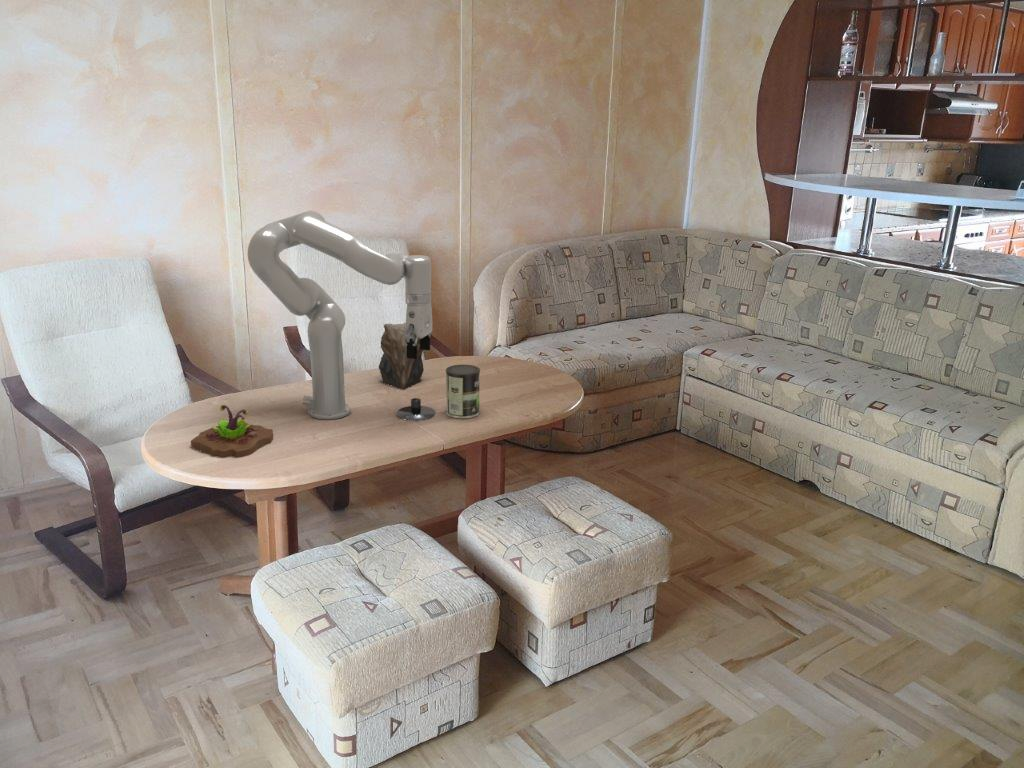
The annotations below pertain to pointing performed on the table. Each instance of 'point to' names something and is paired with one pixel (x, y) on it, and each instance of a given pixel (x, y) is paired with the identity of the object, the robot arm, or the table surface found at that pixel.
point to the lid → (416, 411)
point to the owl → (399, 358)
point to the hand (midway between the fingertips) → (418, 353)
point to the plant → (233, 437)
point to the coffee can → (462, 391)
